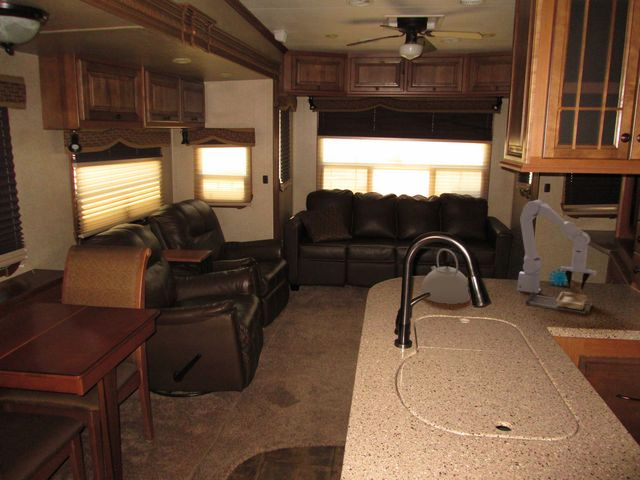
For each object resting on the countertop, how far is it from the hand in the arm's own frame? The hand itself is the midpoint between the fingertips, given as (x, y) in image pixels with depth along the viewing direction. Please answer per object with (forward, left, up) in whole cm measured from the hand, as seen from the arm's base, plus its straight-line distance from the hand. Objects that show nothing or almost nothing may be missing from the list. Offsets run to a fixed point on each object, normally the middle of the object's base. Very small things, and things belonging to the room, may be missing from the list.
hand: (575, 288), depth 237 cm
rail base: (-5, -12, -6) cm, 14 cm away
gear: (-10, +22, -6) cm, 25 cm away
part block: (0, 0, -2) cm, 2 cm away
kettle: (-52, -28, -6) cm, 60 cm away
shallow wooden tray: (0, -12, -4) cm, 13 cm away
